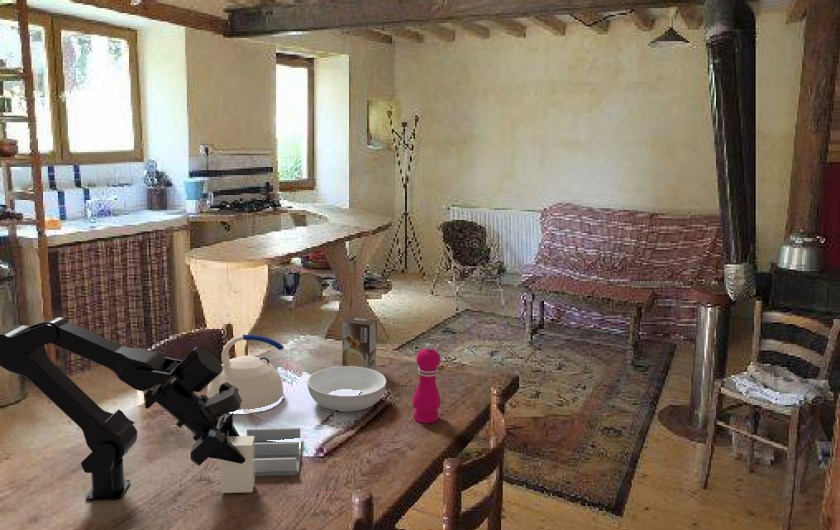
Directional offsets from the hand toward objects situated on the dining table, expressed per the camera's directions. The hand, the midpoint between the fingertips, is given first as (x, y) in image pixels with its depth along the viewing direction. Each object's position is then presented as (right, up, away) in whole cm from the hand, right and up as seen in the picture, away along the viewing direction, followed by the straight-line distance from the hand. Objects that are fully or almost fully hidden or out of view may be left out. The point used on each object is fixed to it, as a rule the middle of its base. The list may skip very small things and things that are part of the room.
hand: (245, 456), depth 129 cm
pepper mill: (+36, -2, +38) cm, 52 cm away
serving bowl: (+15, +1, +45) cm, 47 cm away
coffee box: (+16, +5, +69) cm, 71 cm away
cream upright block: (-2, -7, +1) cm, 7 cm away
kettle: (-12, +2, +45) cm, 47 cm away
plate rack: (+2, -5, +14) cm, 15 cm away
